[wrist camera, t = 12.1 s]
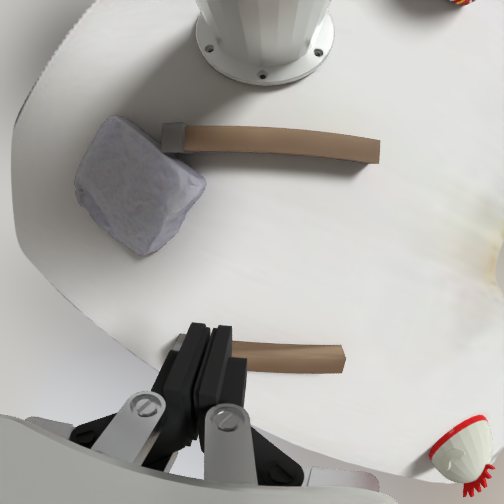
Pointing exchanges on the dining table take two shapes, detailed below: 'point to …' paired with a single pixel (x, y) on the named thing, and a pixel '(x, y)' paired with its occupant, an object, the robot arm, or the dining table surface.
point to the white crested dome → (465, 454)
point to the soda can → (462, 2)
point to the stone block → (135, 186)
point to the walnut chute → (275, 142)
